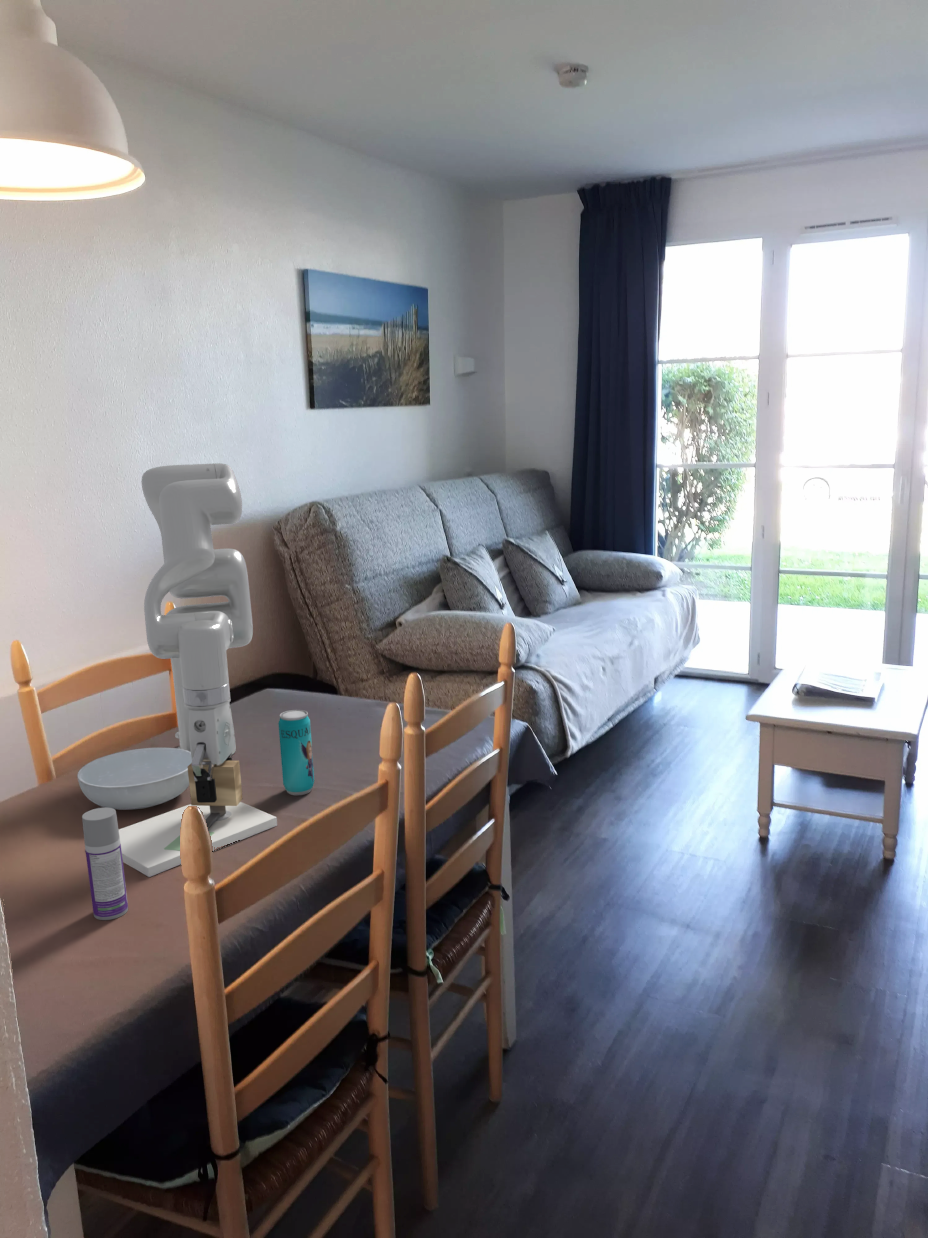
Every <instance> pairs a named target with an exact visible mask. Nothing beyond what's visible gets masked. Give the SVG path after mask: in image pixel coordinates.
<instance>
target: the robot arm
mask: <svg viewBox="0 0 928 1238" xmlns="http://www.w3.org/2000/svg"><path fill="white" fill-rule="evenodd" d="M141 488H142V490H141V491H142V493H143V497H144V499H145V502H146V504H147V506H148V508H149V510H150V512H151V513H152V516H153V517H154V519H155V521H156V523H157V525H158V528H159V531H160V536H161V545H162V554H163V556H162V557H163V565H162V566H160V568H159V569H158V570H157V572H155V574H154V576H153V577H152V579H151V580H150V582H149V584H148V586H147V588H146V592H145V597H144V603H143V611H144V622H145V634H146V641H147V646H148V649H149V651H150V653H151V654H152V655H153V656H154V657H155V658H158V659H163V660H169V659H170V663H171V670H172V678H173V679H172V680H173V688H174V697H175V699H174V700H175V707H176V708H175V709H176V716H177V726H178V731H177V732H175V734H174V736H175V737H174V738H176V739H178V740H179V746H177V747H176V748H177V749H183V750H186V751H189V752H191V758H192V768H193V774H194V781H195V786H196V796H197V802H199V803H211V802H216V800H217V796H216V786H215V779H212V778H213V770H214V764H216V765H217V766H219V765H221V764H222V763H223V762H224V761H233V757H232V755H234V753H235V752H236V750H237V749H236V737H235V729H234V723H233V722H234V721H233V716H232V715H233V714H232V710H231V705H230V704H231V703H230V702H231V692H230V691H231V689H230V680H229V679H230V678H229V669H228V667H229V666H228V658H227V657H228V656H227V651H228V649H235V648H242V647H245V646H247V645H248V644H250V643H251V642H252V638H253V633H254V629H253V628H254V626H253V625H254V624H253V614H252V612H253V611H252V605H251V602H252V601H251V593H250V585H249V584H250V583H249V576H248V568H247V567H248V566H247V563H246V560H245V558H244V556H243V554H242V553H241V552H240V551H239V550H237V549H234V548H218V549H216V548H214V543H213V533H212V527H211V526H219V525H220V526H221V525H232V524H233V525H234V524H236V523H238V522H239V521H240V519H241V518H242V517H241V516H242V512H243V499H242V493H241V490H240V486H239V483H238V480H237V478H236V474H235V472H234V470H233V469H232V467H231V466H230V465H228V464H226V463H218V462H217V463H201V464H200V463H196V464H173V465H172V464H171V465H161V466H155V467H153V468H150V469H148V470H147V469H146V470H145V472H143V474H142V476H141ZM168 593H170V595H171V596H172V597H174V598H176V599H185V600H186V599H201V598H202V599H203V598H211V597H212V598H213V597H225V598H226V599H227V600H228V601H222V602H221V601H220V602H211V603H198V604H187V605H181V606H177V607H175V608H172V609H171V610H169V611H168V612H167V613H166V614H165V615H164V614H163V615H162V611H161V610H162V609H161V607H162V606H161V605H162V601H163V600H164V598H165V596H166V595H167V594H168ZM203 760H210V761H203ZM203 767H208V772H207V771H206V770H205V769H203Z"/></svg>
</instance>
